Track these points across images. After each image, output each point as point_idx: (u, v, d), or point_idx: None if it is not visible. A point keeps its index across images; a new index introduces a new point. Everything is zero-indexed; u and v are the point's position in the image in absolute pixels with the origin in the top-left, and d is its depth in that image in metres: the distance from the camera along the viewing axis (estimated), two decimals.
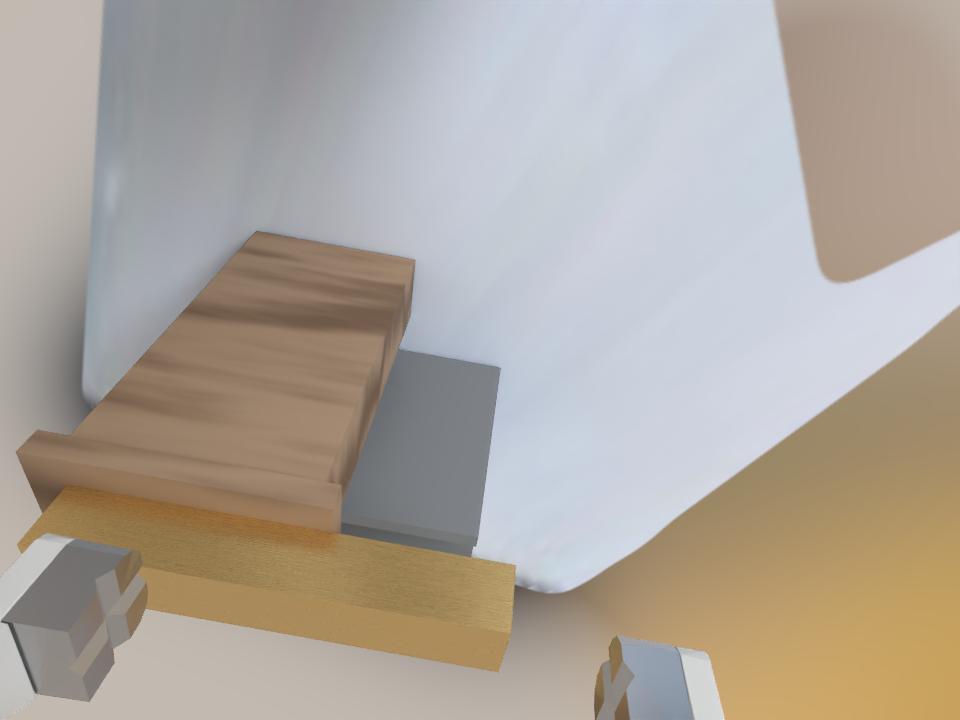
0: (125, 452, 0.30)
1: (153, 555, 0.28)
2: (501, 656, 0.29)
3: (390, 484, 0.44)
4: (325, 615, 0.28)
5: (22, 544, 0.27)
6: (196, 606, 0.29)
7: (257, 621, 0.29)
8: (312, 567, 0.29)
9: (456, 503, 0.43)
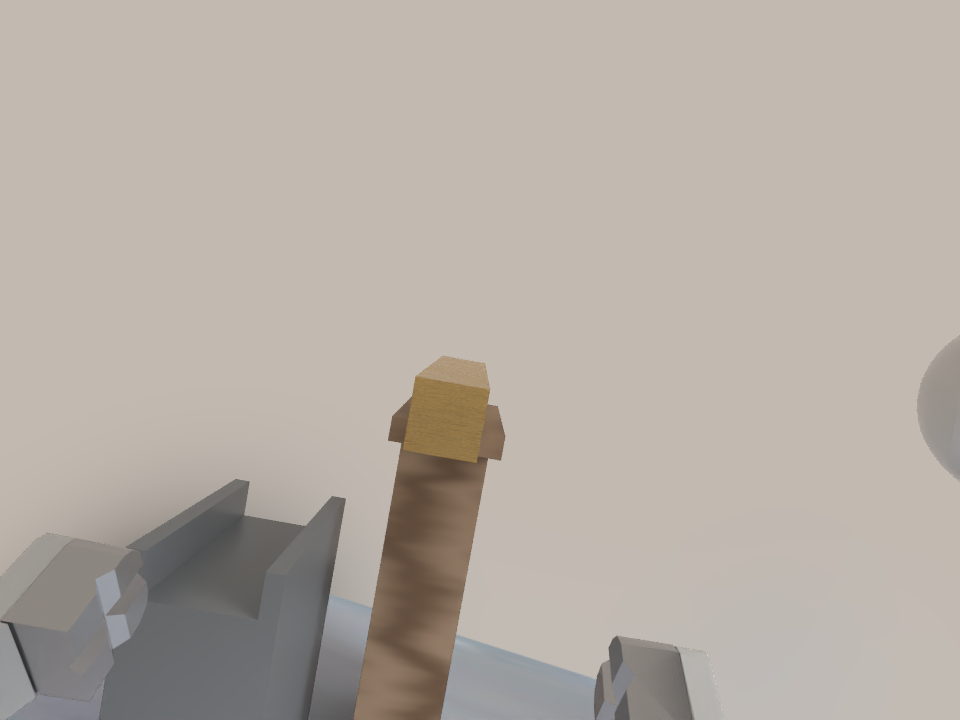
0: None
1: None
2: (446, 381, 0.29)
3: (311, 581, 0.38)
4: (466, 372, 0.37)
5: (484, 364, 0.51)
6: (450, 363, 0.43)
7: (443, 364, 0.40)
8: None
9: (289, 606, 0.33)
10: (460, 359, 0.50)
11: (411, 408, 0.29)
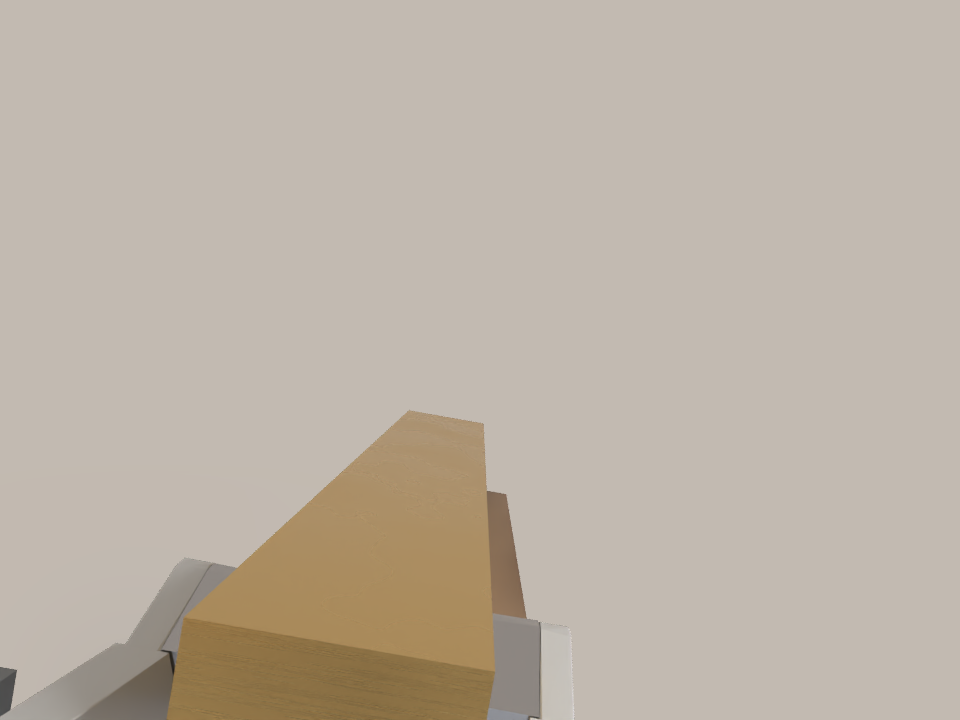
0: None
1: None
2: (315, 636, 0.07)
3: None
4: (435, 485, 0.15)
5: None
6: (412, 439, 0.21)
7: (391, 451, 0.18)
8: None
9: None
10: (439, 417, 0.28)
11: None
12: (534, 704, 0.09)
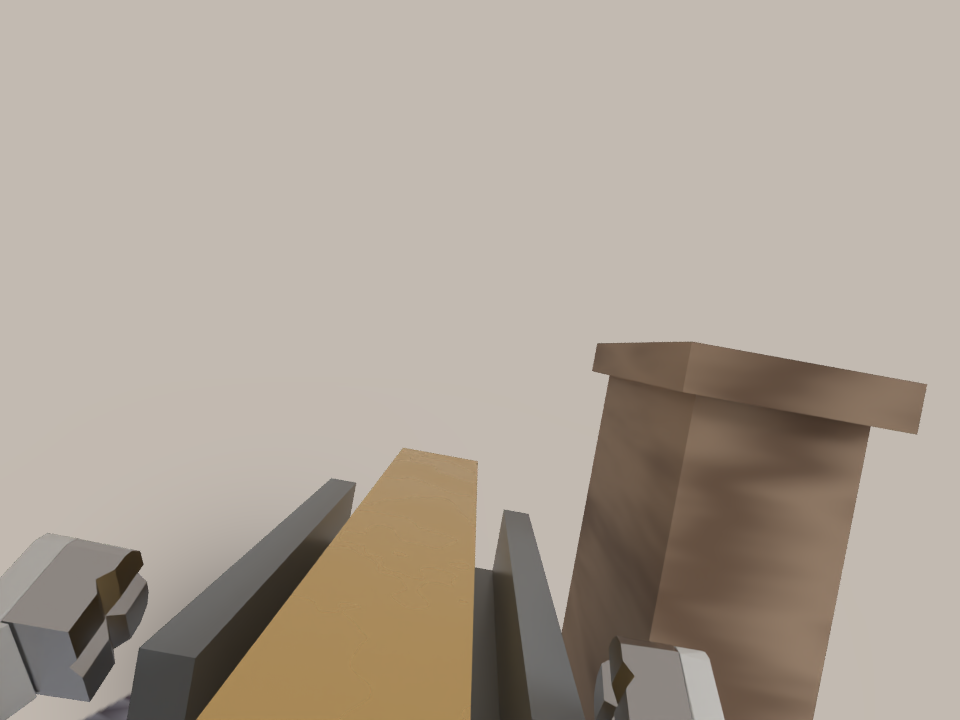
0: None
1: None
2: None
3: None
4: (423, 557, 0.15)
5: (477, 463, 0.29)
6: (403, 490, 0.21)
7: (381, 510, 0.18)
8: None
9: None
10: (433, 455, 0.28)
11: None
12: None
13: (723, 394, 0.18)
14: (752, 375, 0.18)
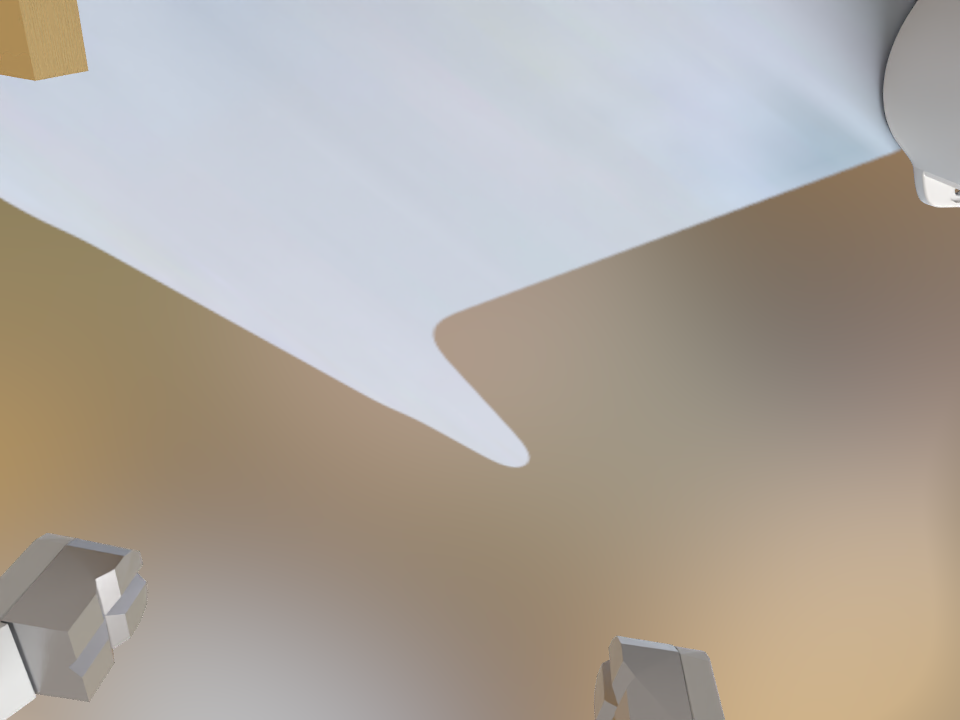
0: None
1: None
2: None
3: None
4: None
5: None
6: None
7: None
8: None
9: None
10: None
11: None
12: None
13: None
14: None
